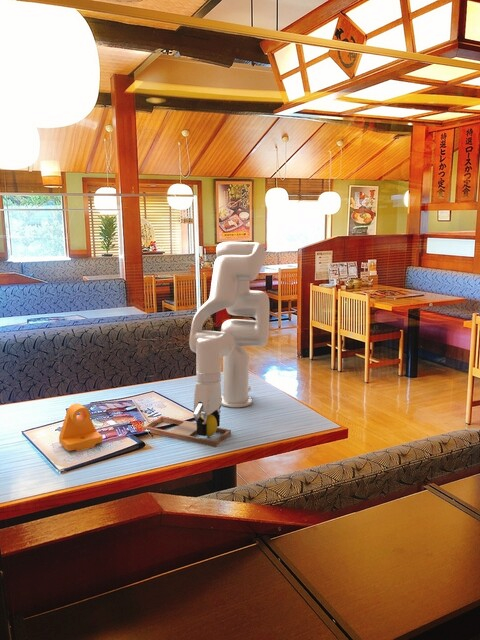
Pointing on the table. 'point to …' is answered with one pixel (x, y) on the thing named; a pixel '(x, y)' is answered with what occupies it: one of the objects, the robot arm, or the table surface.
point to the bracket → (78, 430)
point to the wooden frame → (185, 431)
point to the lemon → (211, 425)
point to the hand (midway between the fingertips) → (208, 430)
